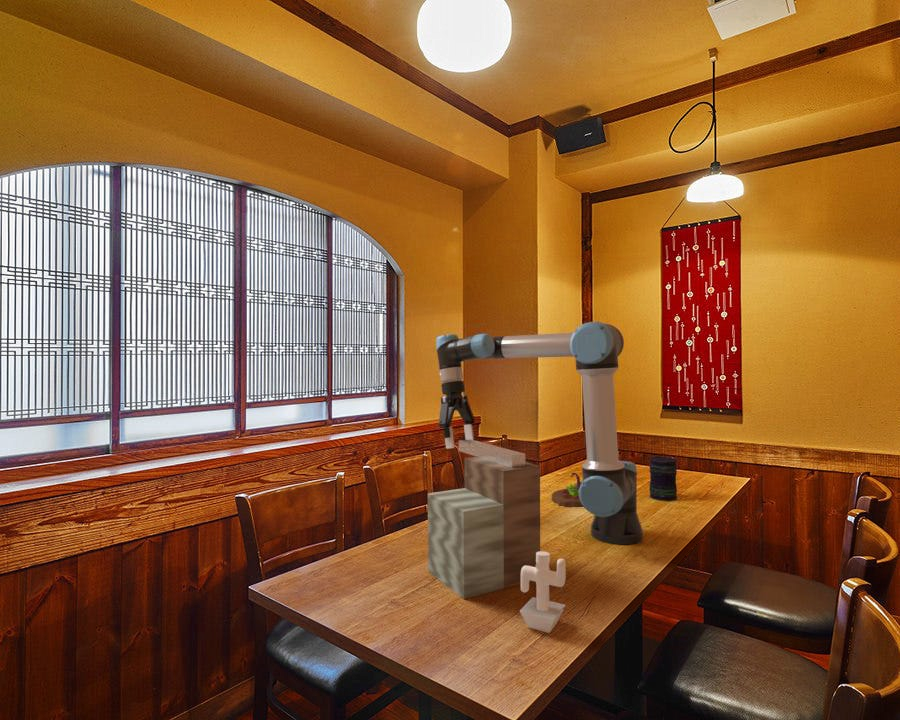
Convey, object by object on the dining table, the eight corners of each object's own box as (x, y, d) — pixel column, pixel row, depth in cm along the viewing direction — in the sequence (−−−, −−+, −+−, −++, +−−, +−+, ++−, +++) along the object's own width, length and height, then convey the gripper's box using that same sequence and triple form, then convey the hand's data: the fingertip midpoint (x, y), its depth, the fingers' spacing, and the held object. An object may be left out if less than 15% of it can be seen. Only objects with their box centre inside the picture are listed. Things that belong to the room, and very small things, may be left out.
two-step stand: (428, 571, 136) (427, 462, 136) (499, 555, 147) (498, 454, 146) (463, 599, 120) (463, 476, 120) (540, 578, 131) (540, 466, 131)
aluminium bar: (458, 450, 152) (458, 440, 152) (470, 449, 154) (470, 439, 154) (512, 467, 129) (512, 455, 129) (525, 465, 131) (525, 453, 131)
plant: (547, 494, 211) (547, 466, 211) (597, 495, 210) (597, 467, 210) (556, 509, 191) (556, 478, 191) (611, 509, 190) (611, 478, 190)
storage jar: (681, 501, 200) (681, 461, 199) (654, 501, 200) (654, 461, 200) (670, 494, 209) (670, 456, 209) (645, 494, 210) (645, 456, 210)
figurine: (527, 612, 114) (527, 543, 114) (570, 623, 109) (570, 551, 109) (514, 627, 108) (514, 554, 108) (559, 640, 103) (559, 563, 103)
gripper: (460, 383, 188) (468, 443, 185) (422, 383, 166) (430, 451, 164) (479, 379, 184) (487, 441, 182) (442, 379, 162) (451, 449, 160)
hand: (460, 446), depth 173 cm, fingers open, 13 cm apart
